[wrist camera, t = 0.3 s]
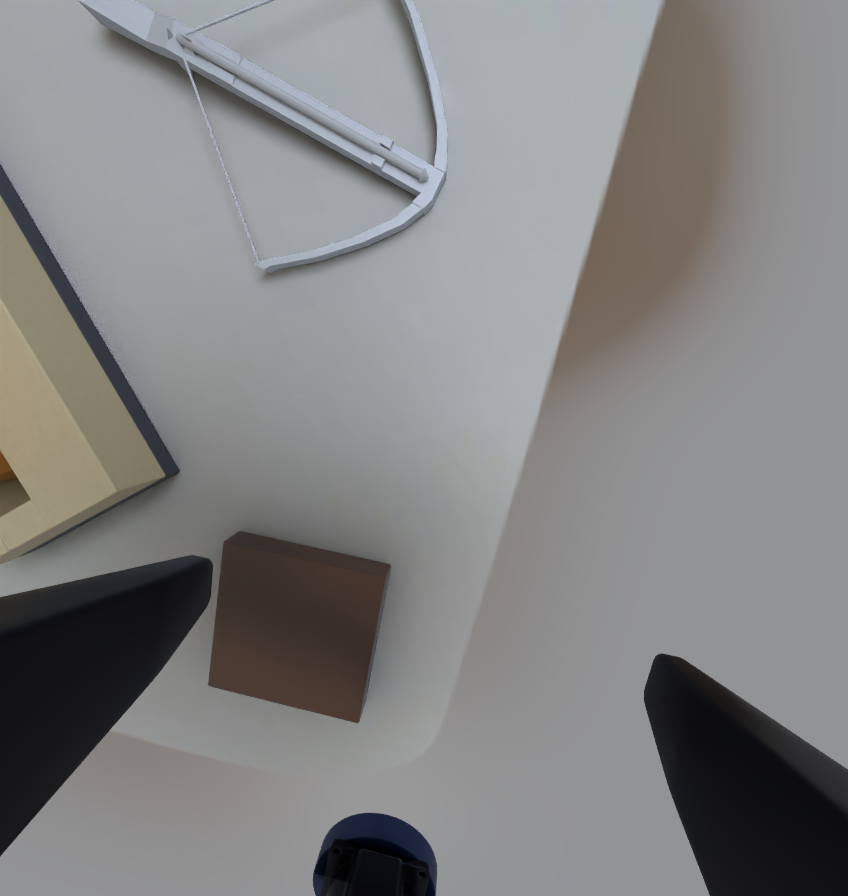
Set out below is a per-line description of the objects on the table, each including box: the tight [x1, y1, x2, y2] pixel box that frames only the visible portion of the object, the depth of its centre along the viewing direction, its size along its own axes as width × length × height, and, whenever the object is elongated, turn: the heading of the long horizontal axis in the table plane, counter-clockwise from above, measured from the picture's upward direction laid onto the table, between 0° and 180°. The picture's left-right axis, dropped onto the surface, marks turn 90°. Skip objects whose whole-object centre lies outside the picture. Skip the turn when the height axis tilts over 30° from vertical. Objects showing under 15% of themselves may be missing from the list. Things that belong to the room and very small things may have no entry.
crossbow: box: [78, 0, 447, 273], centre depth 18 cm, size 16×13×2 cm
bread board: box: [208, 531, 391, 723], centre depth 22 cm, size 8×8×2 cm
